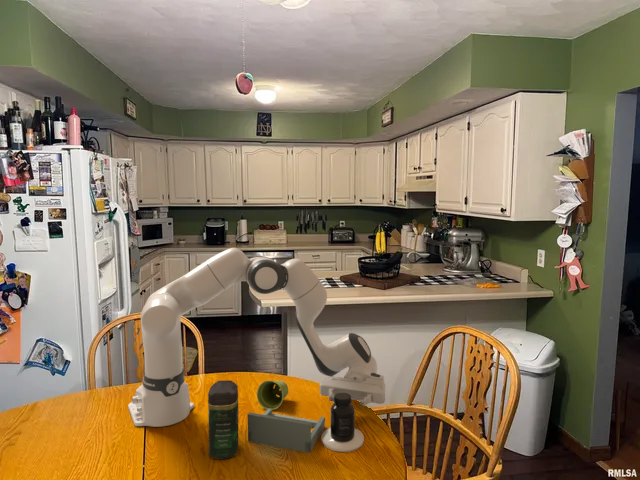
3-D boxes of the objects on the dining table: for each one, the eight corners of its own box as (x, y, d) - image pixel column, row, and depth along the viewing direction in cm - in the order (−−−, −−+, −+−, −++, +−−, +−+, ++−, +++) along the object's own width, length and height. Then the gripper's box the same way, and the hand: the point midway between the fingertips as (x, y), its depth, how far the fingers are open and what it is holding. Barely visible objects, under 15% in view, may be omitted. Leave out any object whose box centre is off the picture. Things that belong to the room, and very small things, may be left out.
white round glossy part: (312, 439, 126) (312, 435, 126) (342, 424, 134) (342, 421, 134) (342, 457, 117) (342, 453, 117) (372, 440, 125) (372, 437, 125)
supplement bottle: (357, 433, 127) (358, 393, 126) (349, 445, 121) (349, 403, 120) (335, 428, 130) (336, 388, 129) (326, 439, 124) (326, 398, 123)
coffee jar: (237, 459, 116) (236, 392, 114) (207, 461, 115) (205, 393, 113) (240, 439, 125) (239, 376, 124) (211, 441, 125) (210, 378, 123)
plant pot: (288, 408, 150) (277, 415, 141) (264, 396, 153) (252, 402, 145) (296, 382, 150) (286, 387, 141) (272, 371, 153) (262, 375, 145)
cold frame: (268, 417, 138) (268, 392, 137) (324, 426, 133) (324, 401, 132) (247, 441, 125) (247, 414, 124) (309, 453, 119) (309, 424, 118)
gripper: (326, 368, 144) (312, 386, 131) (388, 376, 138) (381, 395, 125) (326, 387, 145) (312, 406, 132) (388, 395, 139) (381, 416, 125)
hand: (346, 401), depth 128 cm, fingers open, 8 cm apart
